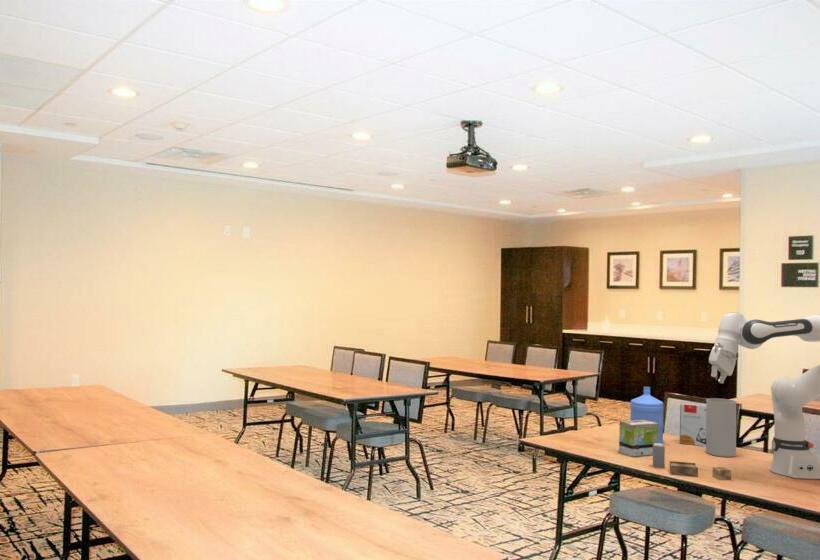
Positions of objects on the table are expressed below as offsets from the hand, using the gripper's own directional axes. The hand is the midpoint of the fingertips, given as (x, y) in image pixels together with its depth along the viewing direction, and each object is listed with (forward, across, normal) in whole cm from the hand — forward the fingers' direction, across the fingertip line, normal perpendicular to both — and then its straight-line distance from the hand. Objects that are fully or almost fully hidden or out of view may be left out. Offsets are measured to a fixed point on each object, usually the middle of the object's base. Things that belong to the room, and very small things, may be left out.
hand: (717, 379), depth 273 cm
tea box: (+38, +19, +32) cm, 54 cm away
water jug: (+31, +41, +40) cm, 65 cm away
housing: (+42, +4, +16) cm, 45 cm away
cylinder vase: (+25, +45, +6) cm, 52 cm away
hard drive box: (+23, +58, +22) cm, 66 cm away
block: (+38, +4, -10) cm, 40 cm away
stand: (+41, +1, +4) cm, 41 cm away
